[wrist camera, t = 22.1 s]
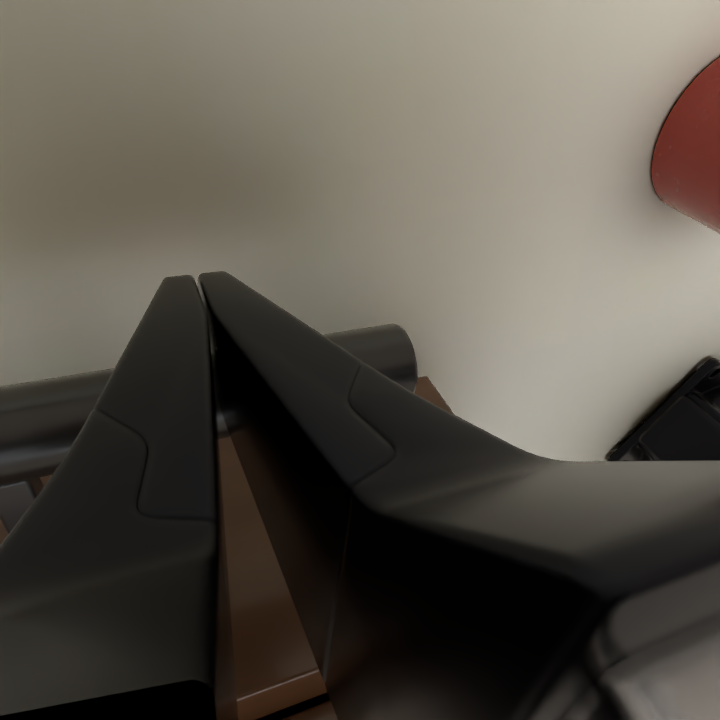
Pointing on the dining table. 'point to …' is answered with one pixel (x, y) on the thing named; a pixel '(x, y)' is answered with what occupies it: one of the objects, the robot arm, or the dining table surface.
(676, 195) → the tin
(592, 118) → the dining table surface
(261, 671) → the drawer
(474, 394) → the dining table surface
